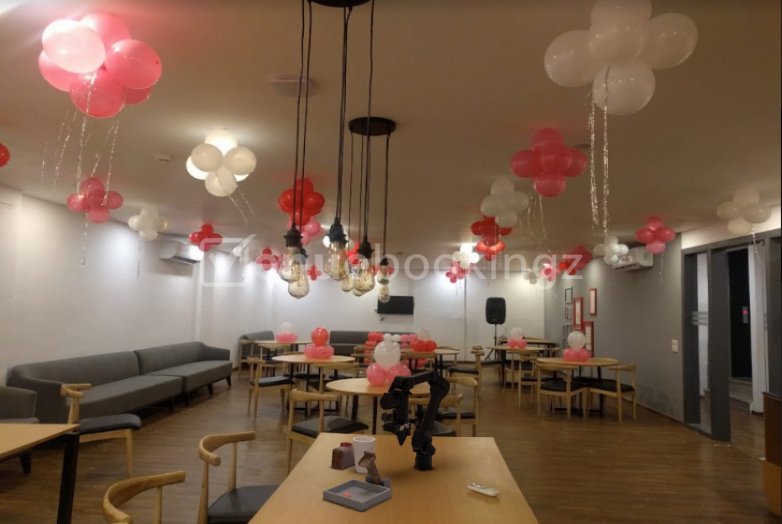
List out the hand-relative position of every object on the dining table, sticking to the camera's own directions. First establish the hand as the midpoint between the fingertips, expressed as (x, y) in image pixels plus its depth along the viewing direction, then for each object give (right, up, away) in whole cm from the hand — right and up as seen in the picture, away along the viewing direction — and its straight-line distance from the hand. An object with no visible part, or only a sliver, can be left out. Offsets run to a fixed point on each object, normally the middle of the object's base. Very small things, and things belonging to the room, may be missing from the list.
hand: (401, 445), depth 218 cm
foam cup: (-16, -12, +4) cm, 20 cm away
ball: (-20, -7, -32) cm, 38 cm away
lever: (-9, -10, -18) cm, 22 cm away
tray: (-16, -10, -27) cm, 33 cm away
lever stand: (-9, -11, -17) cm, 22 cm away
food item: (-24, -13, +11) cm, 29 cm away
